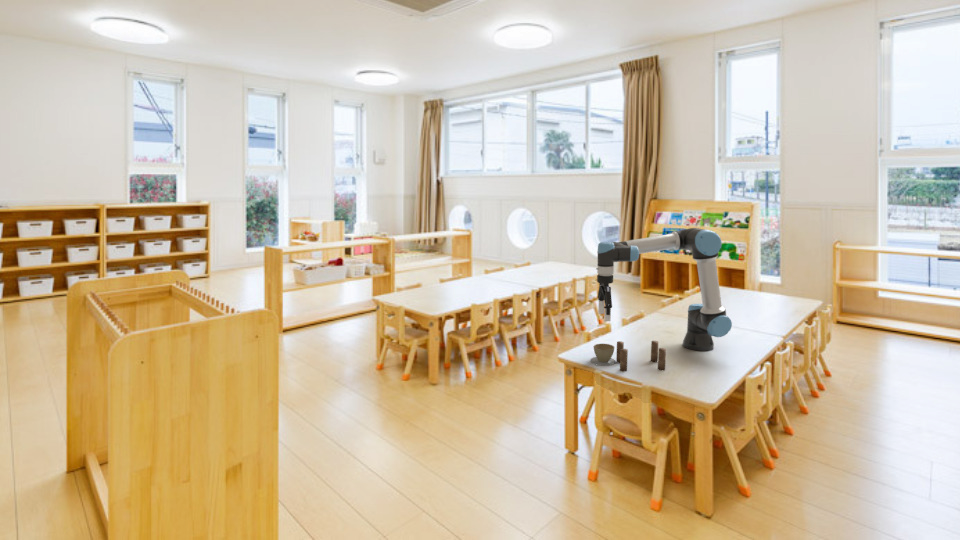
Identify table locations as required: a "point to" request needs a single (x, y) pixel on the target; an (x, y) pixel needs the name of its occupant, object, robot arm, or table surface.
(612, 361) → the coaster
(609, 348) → the olive grey bowl
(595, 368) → the table surface
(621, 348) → the posts
